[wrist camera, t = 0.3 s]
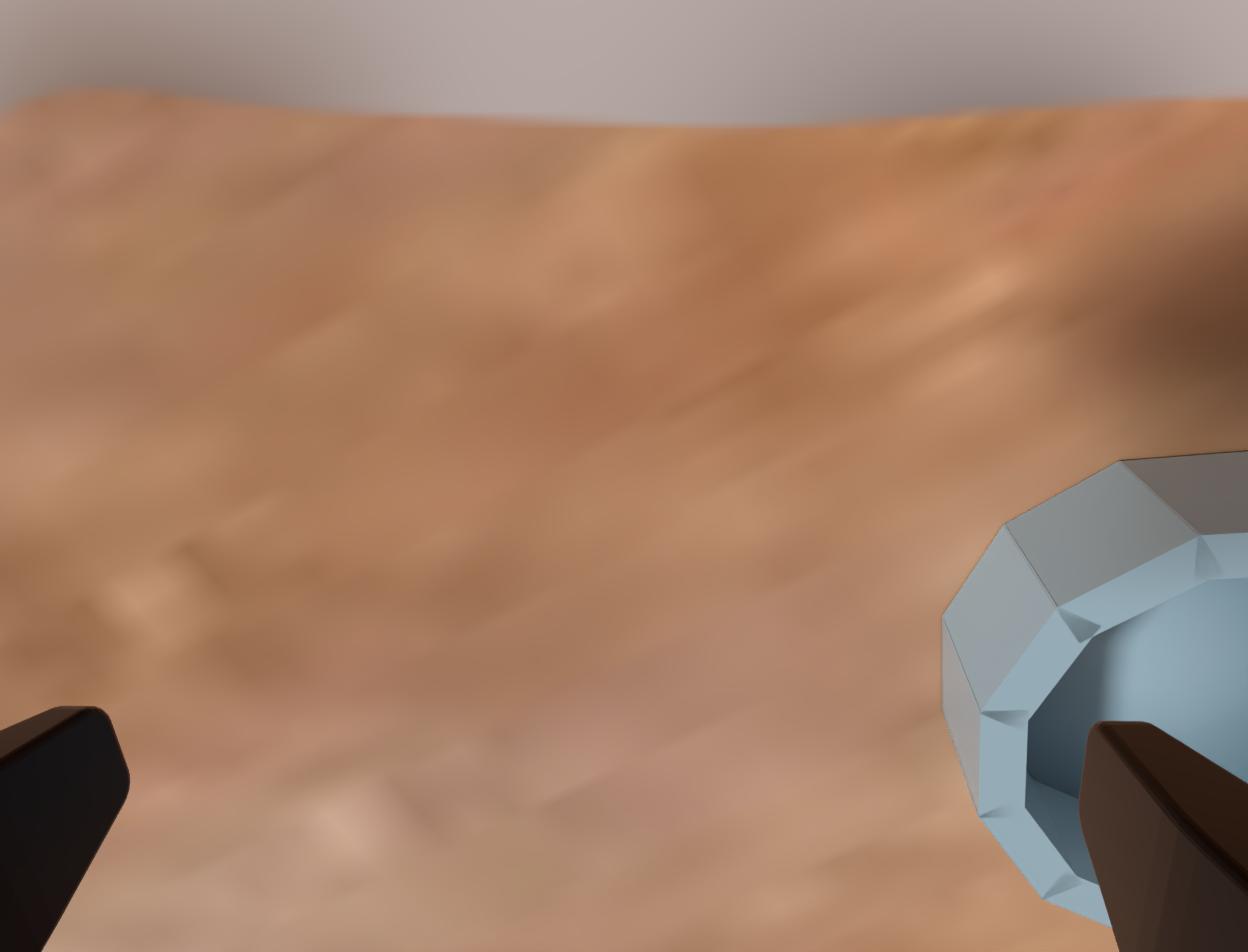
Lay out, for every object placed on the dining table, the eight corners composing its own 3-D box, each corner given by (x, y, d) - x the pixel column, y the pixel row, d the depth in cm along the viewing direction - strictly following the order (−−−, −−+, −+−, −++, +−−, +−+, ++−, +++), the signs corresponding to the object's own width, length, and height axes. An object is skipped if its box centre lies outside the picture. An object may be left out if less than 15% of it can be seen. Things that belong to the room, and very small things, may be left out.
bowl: (1369, 819, 23) (1486, 949, 20) (942, 823, 25) (976, 943, 22) (1455, 434, 19) (1622, 508, 16) (940, 473, 21) (981, 548, 18)
